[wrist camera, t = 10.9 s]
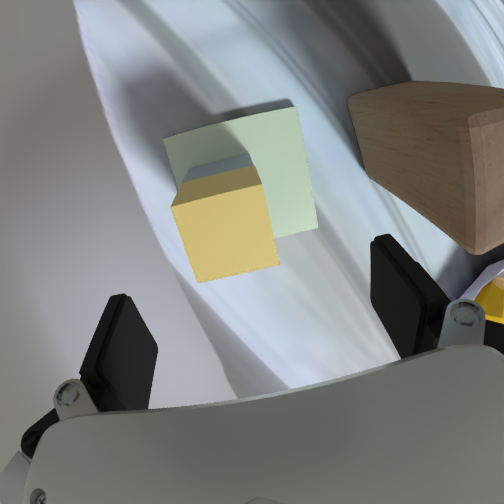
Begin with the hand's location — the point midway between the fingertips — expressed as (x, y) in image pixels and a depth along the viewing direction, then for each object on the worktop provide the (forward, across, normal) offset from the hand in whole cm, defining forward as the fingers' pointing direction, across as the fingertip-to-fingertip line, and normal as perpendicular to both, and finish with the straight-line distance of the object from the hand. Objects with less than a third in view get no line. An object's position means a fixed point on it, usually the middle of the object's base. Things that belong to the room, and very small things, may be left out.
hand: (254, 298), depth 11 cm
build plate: (+24, 0, +3) cm, 24 cm away
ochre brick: (+17, +2, +3) cm, 17 cm away
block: (+24, -18, 0) cm, 30 cm away
